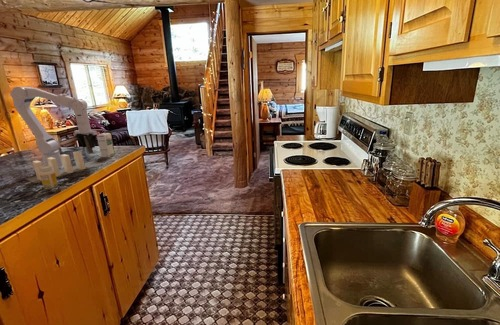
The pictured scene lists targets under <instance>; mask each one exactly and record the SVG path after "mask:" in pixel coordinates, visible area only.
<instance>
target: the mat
mask: <svg viewBox="0 0 500 325" xmlns="http://www.w3.org/2000/svg"><path fill="white" fill-rule="evenodd" d="M104 164H105V163H103V162H98V161H94V160H92V161H87V162H84V165H85V169H82V170H81V169H77V167H76V165H72V168H73V172H72V173H71V174H73V173H76V172H79V171H83V170H87V169H91V168H95V167H97V166H101V165H104ZM59 172H60V175H61V176H57V177H56V178H59V177H62V176H65V175H70V173H67V172H65V171H64V168H60V169H59ZM25 180H26V181H28V182H32V183H33V184H37V183H40V182H41V183H42V181H41V180H38V179H37V176H36V175H35V176H30V177H27V178H25Z"/></svg>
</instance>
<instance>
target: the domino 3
mask: <svg viewBox="0 0 500 325" xmlns="http://www.w3.org/2000/svg"><path fill="white" fill-rule="evenodd" d="M60 157H61V160H62V164H63V169H64V171H65V172H67V173H69V174H73V173H74V172H73V168H72V166H73V165H72V161H71V158H70V155H69V154H65V153H64V154H60ZM72 172H73V173H72Z"/></svg>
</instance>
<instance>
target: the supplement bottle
mask: <svg viewBox="0 0 500 325" xmlns="http://www.w3.org/2000/svg"><path fill="white" fill-rule="evenodd" d="M51 169H52V167H51V166H44V165H43V167H41V168H40V170H41V171H42V172H41V173H40V177H41V184H42V188H43V189H46V190H48V189H53V188H56V187H57V186H59V182H58V180H57V177H56V175H55V172H54V171H53V170H51Z"/></svg>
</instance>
